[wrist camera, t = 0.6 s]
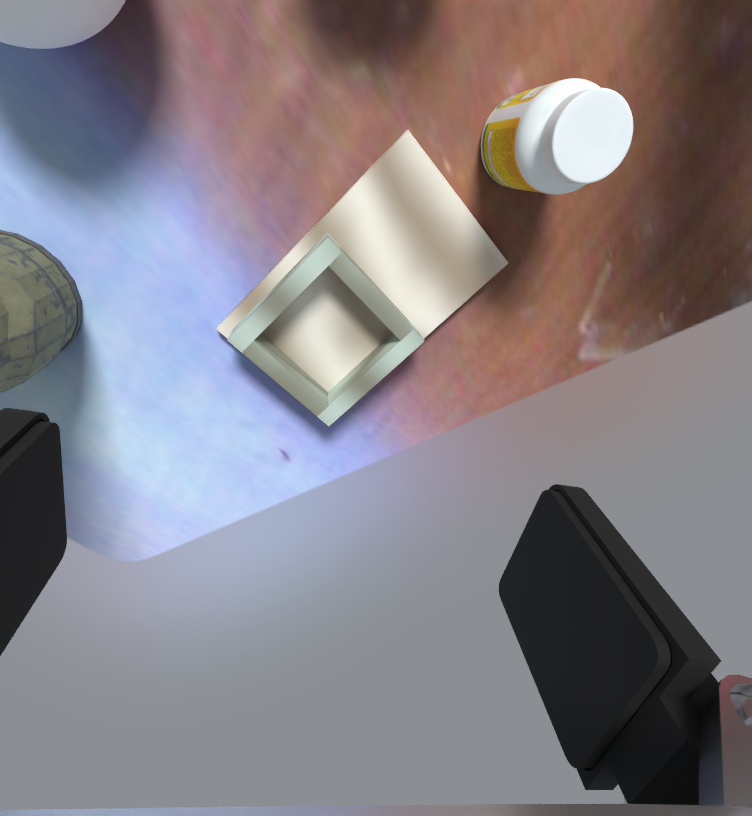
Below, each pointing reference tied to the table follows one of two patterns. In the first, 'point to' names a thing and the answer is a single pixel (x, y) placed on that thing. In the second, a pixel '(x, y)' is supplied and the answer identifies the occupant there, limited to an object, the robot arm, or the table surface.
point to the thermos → (33, 309)
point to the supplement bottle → (557, 137)
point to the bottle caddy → (365, 284)
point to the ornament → (54, 21)
